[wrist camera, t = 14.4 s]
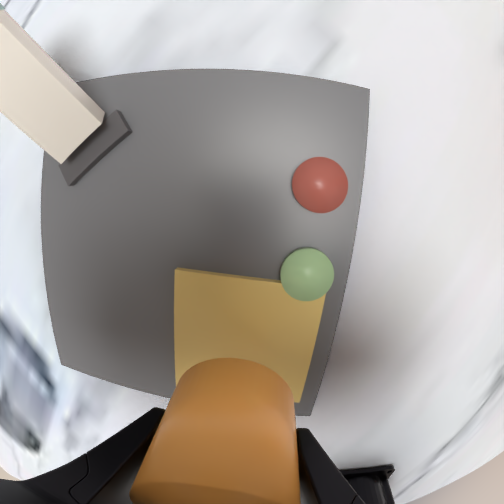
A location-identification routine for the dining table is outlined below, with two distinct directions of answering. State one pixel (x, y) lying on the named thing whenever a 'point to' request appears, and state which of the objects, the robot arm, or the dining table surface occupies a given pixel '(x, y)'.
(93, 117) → the lever
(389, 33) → the dining table surface
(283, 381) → the cap
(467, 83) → the dining table surface
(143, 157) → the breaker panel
